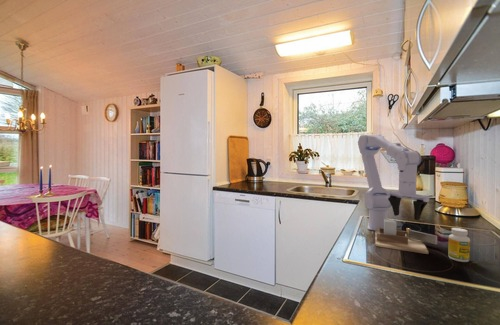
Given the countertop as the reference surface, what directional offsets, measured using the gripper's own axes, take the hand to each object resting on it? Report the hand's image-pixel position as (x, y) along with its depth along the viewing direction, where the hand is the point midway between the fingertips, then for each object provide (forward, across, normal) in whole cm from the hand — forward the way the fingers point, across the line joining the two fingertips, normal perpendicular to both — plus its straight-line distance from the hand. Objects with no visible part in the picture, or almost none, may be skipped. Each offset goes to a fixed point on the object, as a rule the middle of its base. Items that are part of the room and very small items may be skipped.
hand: (406, 217), depth 96 cm
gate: (+8, +4, +3) cm, 10 cm away
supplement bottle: (+10, +17, -1) cm, 20 cm away
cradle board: (+9, -1, -3) cm, 10 cm away
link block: (+9, -3, -5) cm, 10 cm away
